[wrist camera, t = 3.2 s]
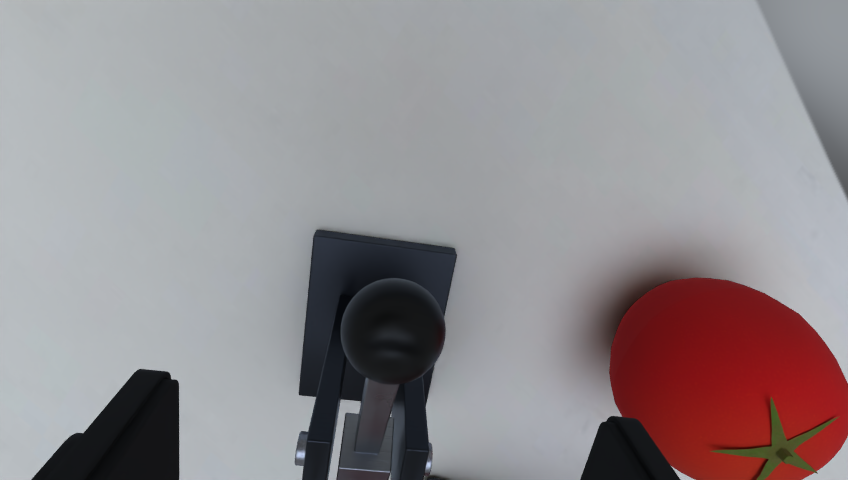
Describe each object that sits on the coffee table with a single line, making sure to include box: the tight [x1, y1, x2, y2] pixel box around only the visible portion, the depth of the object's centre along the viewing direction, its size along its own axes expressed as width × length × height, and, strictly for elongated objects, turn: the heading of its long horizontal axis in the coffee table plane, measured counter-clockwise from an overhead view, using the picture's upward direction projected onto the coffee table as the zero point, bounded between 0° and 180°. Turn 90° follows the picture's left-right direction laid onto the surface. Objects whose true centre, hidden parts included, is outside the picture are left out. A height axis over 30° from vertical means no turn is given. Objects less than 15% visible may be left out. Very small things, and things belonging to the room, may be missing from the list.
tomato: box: [609, 278, 848, 480], centre depth 28 cm, size 11×11×13 cm
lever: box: [337, 278, 446, 480], centre depth 18 cm, size 13×3×3 cm, turn 170°
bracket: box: [295, 230, 457, 480], centre depth 26 cm, size 12×9×14 cm
